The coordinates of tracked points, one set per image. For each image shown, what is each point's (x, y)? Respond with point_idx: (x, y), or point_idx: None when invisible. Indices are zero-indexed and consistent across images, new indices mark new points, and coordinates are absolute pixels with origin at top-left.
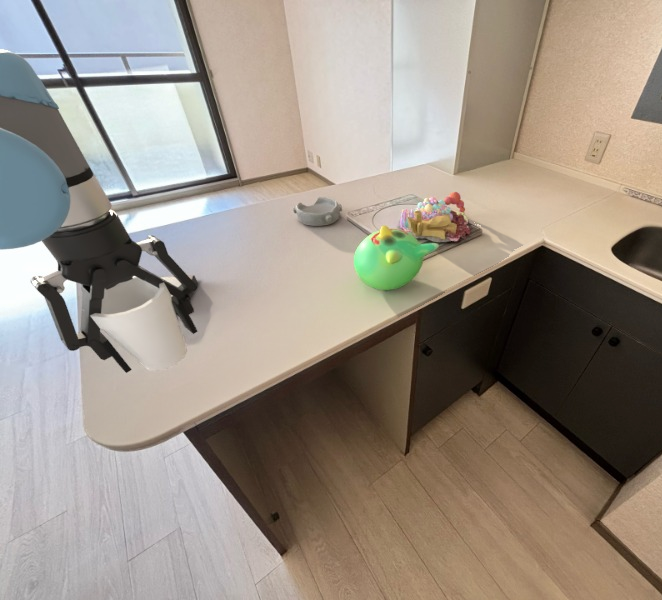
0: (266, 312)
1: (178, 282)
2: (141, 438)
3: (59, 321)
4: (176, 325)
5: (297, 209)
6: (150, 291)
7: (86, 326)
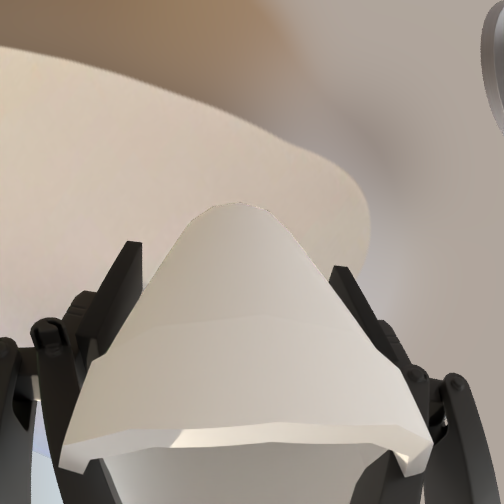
0: (16, 238)
1: None
2: (349, 182)
3: (492, 473)
4: (163, 271)
5: None
6: (143, 451)
7: None
